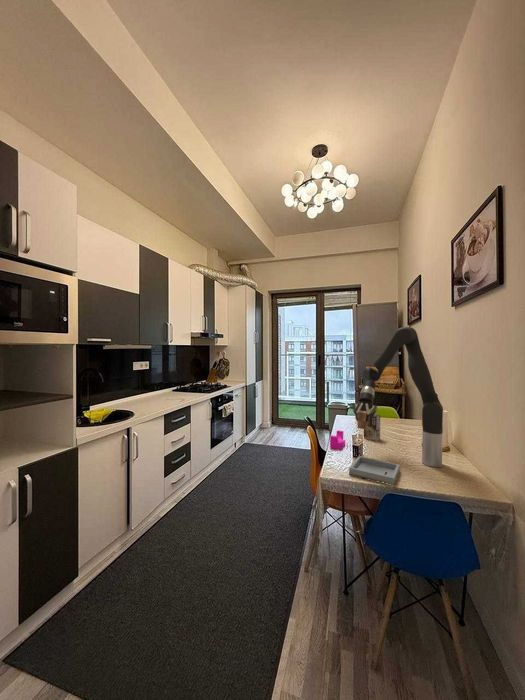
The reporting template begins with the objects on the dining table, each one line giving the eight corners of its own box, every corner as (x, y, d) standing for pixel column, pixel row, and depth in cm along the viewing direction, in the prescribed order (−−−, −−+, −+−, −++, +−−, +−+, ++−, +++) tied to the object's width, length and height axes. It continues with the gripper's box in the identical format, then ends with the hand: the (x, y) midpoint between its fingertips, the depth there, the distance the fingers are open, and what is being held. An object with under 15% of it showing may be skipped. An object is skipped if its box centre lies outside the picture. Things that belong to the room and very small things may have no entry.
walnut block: (367, 427, 162) (367, 411, 162) (365, 429, 158) (365, 412, 158) (359, 426, 164) (359, 410, 164) (357, 428, 161) (357, 411, 160)
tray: (399, 471, 145) (399, 464, 145) (394, 486, 130) (394, 478, 130) (358, 462, 156) (358, 456, 156) (349, 475, 140) (349, 467, 140)
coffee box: (380, 439, 195) (380, 415, 195) (376, 441, 191) (376, 416, 190) (367, 436, 202) (367, 412, 201) (363, 438, 197) (363, 414, 197)
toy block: (340, 450, 174) (340, 438, 174) (330, 448, 177) (330, 436, 177) (347, 443, 187) (347, 431, 187) (337, 441, 190) (337, 430, 190)
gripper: (353, 390, 171) (347, 415, 161) (379, 392, 163) (374, 418, 153) (355, 398, 176) (349, 422, 166) (380, 400, 168) (376, 426, 158)
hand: (361, 420), depth 160 cm, fingers closed on walnut block, 4 cm apart
